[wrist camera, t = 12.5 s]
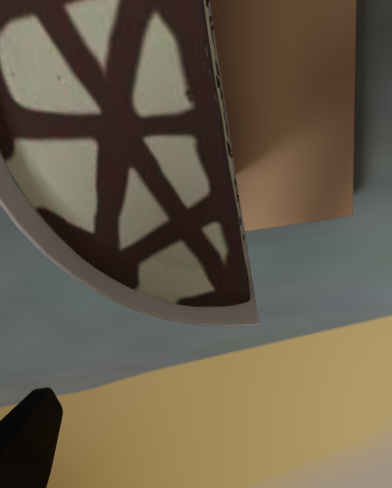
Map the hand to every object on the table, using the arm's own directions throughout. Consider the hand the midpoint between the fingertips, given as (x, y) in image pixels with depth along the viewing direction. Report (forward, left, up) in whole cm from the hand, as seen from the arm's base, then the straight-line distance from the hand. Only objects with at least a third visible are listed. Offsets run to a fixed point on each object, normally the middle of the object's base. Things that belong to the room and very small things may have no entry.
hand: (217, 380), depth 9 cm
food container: (-2, +6, -11) cm, 13 cm away
